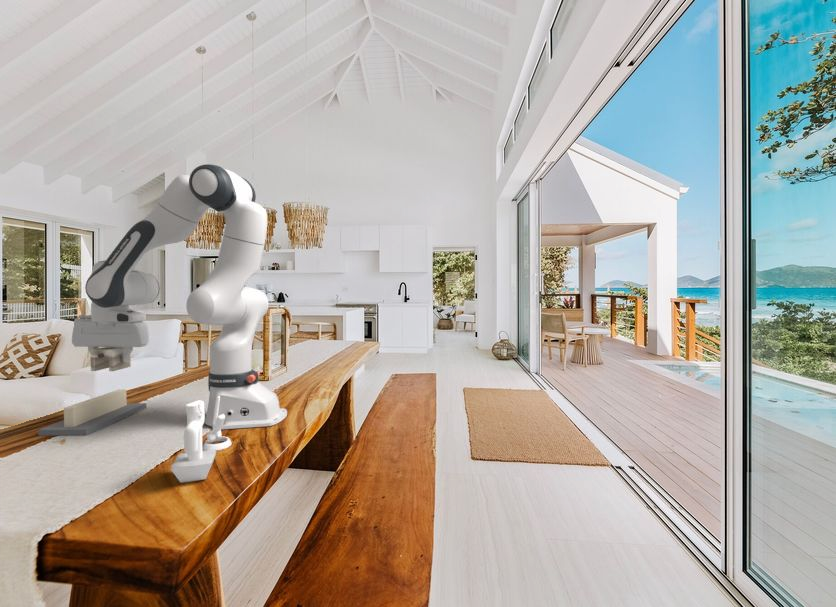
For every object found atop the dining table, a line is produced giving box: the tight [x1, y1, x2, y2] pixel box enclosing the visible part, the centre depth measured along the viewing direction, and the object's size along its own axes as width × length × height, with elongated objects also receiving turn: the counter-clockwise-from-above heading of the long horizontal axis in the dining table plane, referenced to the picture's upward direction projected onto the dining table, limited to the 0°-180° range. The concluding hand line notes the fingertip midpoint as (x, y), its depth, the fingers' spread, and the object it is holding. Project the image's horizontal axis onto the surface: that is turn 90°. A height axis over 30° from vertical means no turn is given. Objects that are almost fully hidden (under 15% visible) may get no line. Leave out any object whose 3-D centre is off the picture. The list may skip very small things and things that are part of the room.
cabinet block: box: [90, 347, 131, 372], centre depth 116 cm, size 6×8×6 cm
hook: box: [202, 414, 232, 451], centre depth 94 cm, size 6×10×6 cm
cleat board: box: [37, 388, 147, 437], centre depth 114 cm, size 12×24×6 cm, turn 2°
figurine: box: [169, 400, 218, 484], centre depth 79 cm, size 7×9×15 cm
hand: (110, 361), depth 117 cm, fingers closed on cabinet block, 6 cm apart
